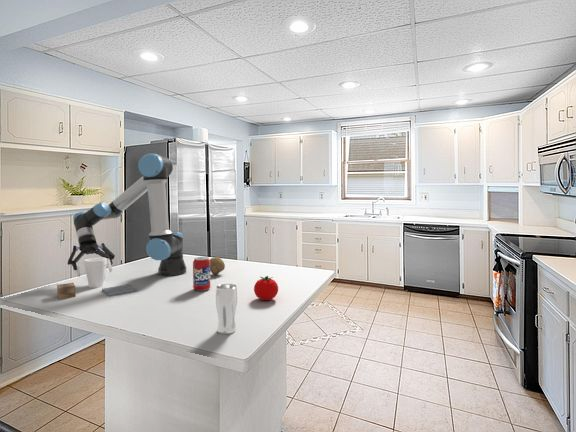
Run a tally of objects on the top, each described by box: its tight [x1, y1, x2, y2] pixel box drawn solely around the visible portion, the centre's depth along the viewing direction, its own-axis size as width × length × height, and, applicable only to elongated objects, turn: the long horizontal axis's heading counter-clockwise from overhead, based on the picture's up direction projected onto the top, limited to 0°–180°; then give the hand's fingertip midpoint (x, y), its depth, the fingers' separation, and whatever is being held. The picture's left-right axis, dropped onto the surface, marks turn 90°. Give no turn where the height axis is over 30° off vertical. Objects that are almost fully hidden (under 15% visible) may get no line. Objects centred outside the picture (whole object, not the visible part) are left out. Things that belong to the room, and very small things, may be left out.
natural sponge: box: [209, 256, 226, 276], centre depth 184 cm, size 9×9×10 cm
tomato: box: [253, 275, 279, 301], centre depth 143 cm, size 10×10×10 cm
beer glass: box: [215, 283, 238, 335], centre depth 111 cm, size 7×7×15 cm
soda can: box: [192, 256, 211, 292], centre depth 156 cm, size 8×8×15 cm
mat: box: [101, 283, 139, 297], centre depth 154 cm, size 12×12×1 cm
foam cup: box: [83, 256, 107, 289], centre depth 161 cm, size 10×9×13 cm
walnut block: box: [56, 282, 77, 300], centre depth 145 cm, size 6×6×5 cm
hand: (95, 272), depth 160 cm, fingers open, 13 cm apart
